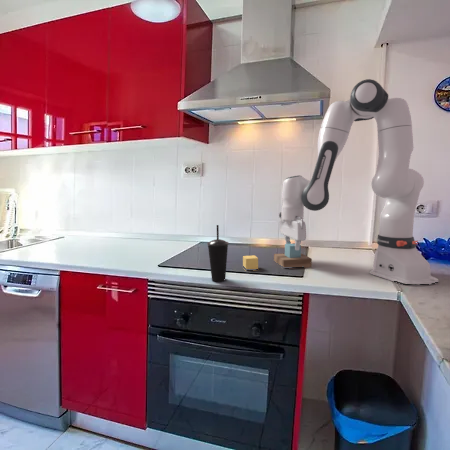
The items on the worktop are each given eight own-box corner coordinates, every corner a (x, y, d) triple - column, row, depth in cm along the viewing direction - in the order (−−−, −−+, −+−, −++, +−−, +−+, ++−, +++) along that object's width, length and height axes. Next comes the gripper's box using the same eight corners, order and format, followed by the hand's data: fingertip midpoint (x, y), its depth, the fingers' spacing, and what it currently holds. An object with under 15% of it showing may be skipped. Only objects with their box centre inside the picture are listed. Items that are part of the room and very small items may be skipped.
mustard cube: (258, 270, 127) (258, 258, 127) (246, 271, 126) (245, 258, 126) (254, 267, 132) (254, 255, 131) (243, 267, 131) (242, 256, 131)
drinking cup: (206, 283, 111) (205, 226, 109) (209, 277, 119) (207, 223, 116) (228, 283, 111) (227, 226, 108) (229, 276, 119) (228, 223, 116)
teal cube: (300, 257, 133) (300, 245, 132) (289, 258, 132) (289, 246, 131) (295, 254, 138) (295, 243, 137) (284, 255, 137) (284, 243, 136)
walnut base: (311, 268, 131) (311, 258, 130) (283, 270, 129) (283, 260, 128) (299, 261, 142) (299, 252, 142) (273, 262, 140) (273, 253, 140)
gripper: (310, 217, 123) (310, 252, 125) (290, 212, 143) (290, 243, 145) (295, 218, 122) (294, 253, 124) (277, 213, 142) (277, 243, 144)
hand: (292, 247), depth 135 cm, fingers open, 8 cm apart
